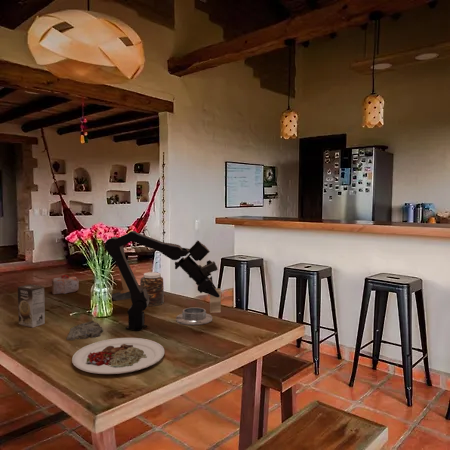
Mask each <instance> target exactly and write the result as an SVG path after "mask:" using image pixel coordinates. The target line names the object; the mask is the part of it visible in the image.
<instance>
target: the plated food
mask: <svg viewBox="0 0 450 450" xmlns="http://www.w3.org/2000/svg"><path fill="white" fill-rule="evenodd" d="M164 355H165V348H164V346H163V345H161V344H160V343H159V342H156V341H154V340H151V339H146V338H141V337H117V338H110V339H103V340H99V341H95V342H93V343H90V344H88V345H87V344H86V345H85V346H83V347H81V348H80V349H78V350H77V351H76V352H74V354H73V356H72V357H71V358H72V359H71V362H72V364H73V367H75V368H77V369H79V370H81V371H83V372H87V373H91V374H99V375H116V374H117V375H118V374H126V373H132V372H137V371H139V370H143V369H146V368H148V367H151V366H154V365H155V364H157V363H158V362H160V361H161V360H162V359H163V357H164Z"/></svg>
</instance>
